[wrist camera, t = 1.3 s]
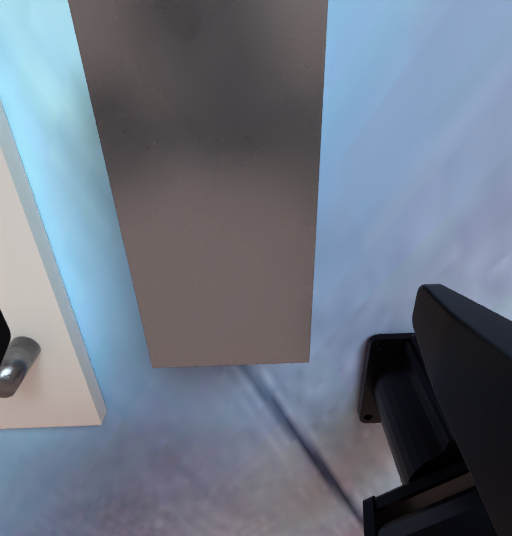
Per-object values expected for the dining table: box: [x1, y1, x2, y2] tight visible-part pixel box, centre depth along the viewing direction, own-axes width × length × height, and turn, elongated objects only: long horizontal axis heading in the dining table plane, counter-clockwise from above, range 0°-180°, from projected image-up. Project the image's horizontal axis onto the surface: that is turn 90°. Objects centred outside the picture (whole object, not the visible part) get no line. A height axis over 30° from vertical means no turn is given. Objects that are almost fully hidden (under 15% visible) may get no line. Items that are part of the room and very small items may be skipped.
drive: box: [68, 0, 328, 368], centre depth 14 cm, size 12×6×5 cm, turn 2°
